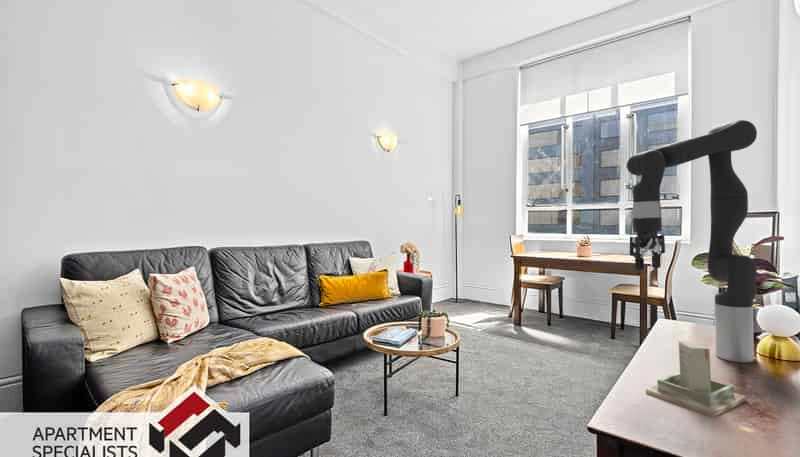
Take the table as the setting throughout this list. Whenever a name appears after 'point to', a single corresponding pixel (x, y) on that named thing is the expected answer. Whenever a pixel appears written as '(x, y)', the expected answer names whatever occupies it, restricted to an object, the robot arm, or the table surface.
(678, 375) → the socket stand
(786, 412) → the table surface
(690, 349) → the skincare box
